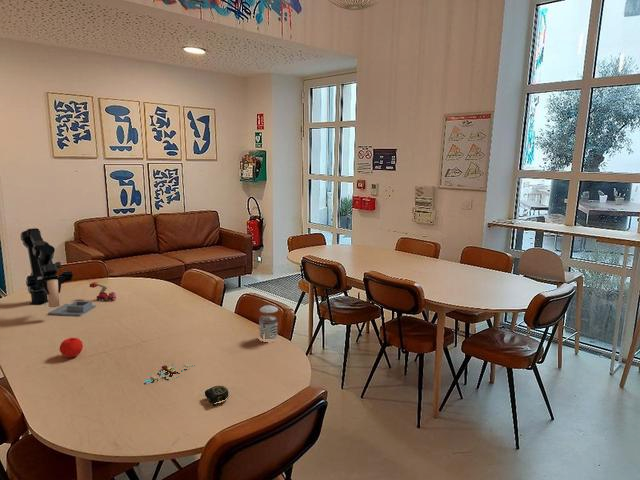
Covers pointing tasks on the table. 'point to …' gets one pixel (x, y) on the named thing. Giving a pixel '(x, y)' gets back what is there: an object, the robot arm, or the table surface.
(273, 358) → the table surface
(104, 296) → the toy fire truck
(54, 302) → the peg
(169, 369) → the gear mechanism
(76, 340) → the apple
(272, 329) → the french press
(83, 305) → the jig cradle
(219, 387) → the tape measure
